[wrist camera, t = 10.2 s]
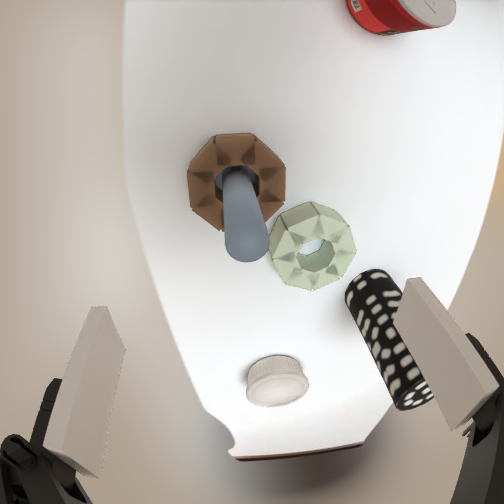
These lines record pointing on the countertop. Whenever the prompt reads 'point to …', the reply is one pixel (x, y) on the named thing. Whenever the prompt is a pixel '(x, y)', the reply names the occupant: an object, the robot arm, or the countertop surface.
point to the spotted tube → (386, 337)
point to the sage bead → (303, 230)
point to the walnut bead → (231, 154)
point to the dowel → (242, 217)
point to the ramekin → (276, 382)
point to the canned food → (402, 14)
